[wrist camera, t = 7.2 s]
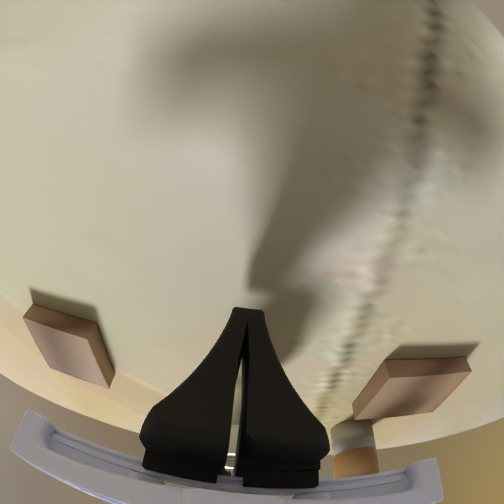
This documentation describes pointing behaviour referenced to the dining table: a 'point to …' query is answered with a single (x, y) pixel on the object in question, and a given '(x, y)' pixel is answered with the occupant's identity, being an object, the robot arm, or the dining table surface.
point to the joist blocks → (364, 407)
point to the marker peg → (354, 449)
